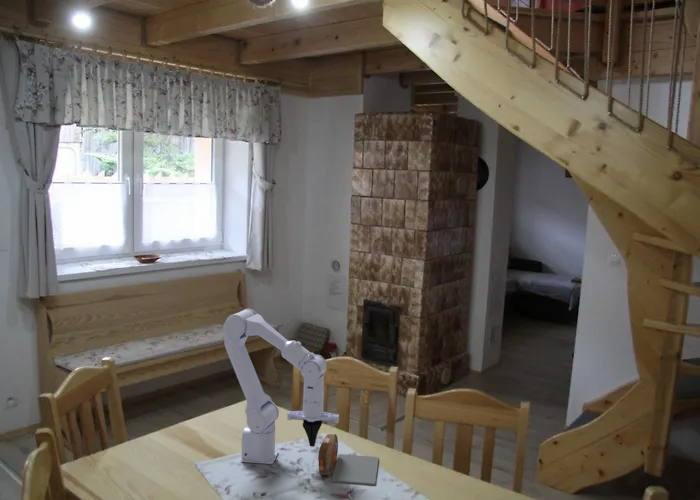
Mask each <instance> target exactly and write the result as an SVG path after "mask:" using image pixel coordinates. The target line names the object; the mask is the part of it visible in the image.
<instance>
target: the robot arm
mask: <svg viewBox="0 0 700 500" xmlns="http://www.w3.org/2000/svg"><path fill="white" fill-rule="evenodd" d="M222 328H223V330H224V342H223V344H224V348H225V350H226V354H227V355H228V358H229V360H230V363H231V365H232V367H233V371H234V373H235V375H236V378H237V380H238V383H239V385H240V388H241V390H242V392H243V395H244V397H245V400H246V405H245V408H244V412H245V415H246V425H247V426H245V427H244V428H243V430H242V435H241V459H240V462H242V463H251V464H253V463H254V464H266V465H273V464H274V462H275V460H276V459H277V456H278V454H279V450H276V421H277V419H279V414H280V410H279V408H278V406H277V405H276V404H275V403H274V401H273V400H272V397H271V396H270V395H268V394H266V393H265V392H264V390H263V386H262V384H261V381H260V379H259V376H258V374H257V372H256V369H255V366H254V365H253V362H252V360H251V358H250V355H249V354H250V353H249V352H248V349H247V347H246V344H245V343H246V341H247V339H248V337H250V336H251V337H253V336H259V337H261V338H262V339H263V340H265V341H266V342H267V343H269V344H271V345H272V346H273V347H275V348H277V349H278V350H280V354H281V357H282V358H283V359H285V360H286V361H287V362H288V363H290V365H293V366H294V367H295V368H297V369H298V370H299V371H300V374H301V377H302V378H303V401H302V403H303V404H302V405H303V406H302V410H294V411H293V410H291V411H290V410H289V411H288V412H287V416H286V417H287V419H286V420H287V421H291V420H295V421H296V420H297V421H302V428H303V429H304V431H305V433H306V437H307V439H308V445H309V447H315V445H316V443H317V436H318V433H319V431H320V430H321V426H322V425H323V422H327V423H334V424H338V423H339V421H340V420H339V419H340V414H337V413H331V412H327V411H324V397H325V396H324V395H325V394H324V392H325V391H324V389H325V382H324V381H325V373H326V371H327V368H328V363H327V361H326V359H325V358H324V357H323V355H320V354H315V353H314V352H313V351H311V352H310V351H309V350H308V349H307V348H305V347H304V346H303V345H302V342H300V341H299V340H298V341H296V340H295V339H294V340H288V339H286V338H285V337H284V336H283V335H282V334H281V333H280V332H278V331H277V330H276V329H275V328H273V327H272V326H271V324H269V323H268V322H267V321H265V319H264V318H263V316H262V315H261V314H259V313H257V312H256V311H255V310H254V309H251V308H245V309H243V310H241V311H239V312H236V313H234V314H231V315H229V316H228V317H227V318H226V320H225V322H224V323H223V325H222Z"/></svg>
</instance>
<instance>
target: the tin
mask: <svg viewBox="0 0 700 500" xmlns="http://www.w3.org/2000/svg"><path fill="white" fill-rule="evenodd" d="M338 443H339V440H338V435H337V433H336V434H331V433H329V434H326V435H325V437H324V439H323V441H322V442H321V445H320V447H319V450H318V455H317V456H318V457H317V461H318V473H319V474H320V475H321V476H330V475H331V474H332V472H333V470H334V468H335V465H336V461H337V458H338V454H339V451H338V450H339V444H338Z"/></svg>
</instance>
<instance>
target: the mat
mask: <svg viewBox="0 0 700 500" xmlns="http://www.w3.org/2000/svg"><path fill="white" fill-rule="evenodd" d="M379 458H380V457H379V456H368V455H359V454H358V455H357V454H355V455H354V454H345V453H344V454H343V453H338V454H337V460H336V463H335V465H334V468H333V471H332V472H333V473H332V475H331V476H332V477H331V479H330V481H331V483H343V484H353V485H365V486H366V485H367V486H376V481H377V474H378V465H379Z"/></svg>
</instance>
